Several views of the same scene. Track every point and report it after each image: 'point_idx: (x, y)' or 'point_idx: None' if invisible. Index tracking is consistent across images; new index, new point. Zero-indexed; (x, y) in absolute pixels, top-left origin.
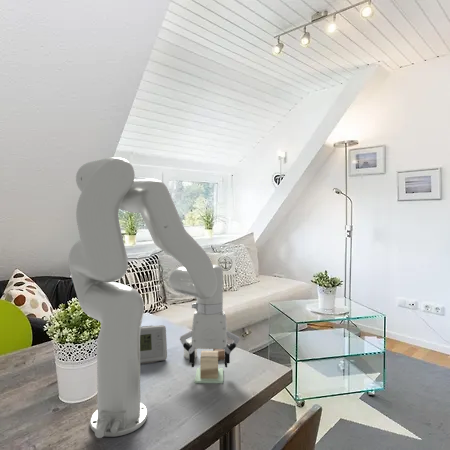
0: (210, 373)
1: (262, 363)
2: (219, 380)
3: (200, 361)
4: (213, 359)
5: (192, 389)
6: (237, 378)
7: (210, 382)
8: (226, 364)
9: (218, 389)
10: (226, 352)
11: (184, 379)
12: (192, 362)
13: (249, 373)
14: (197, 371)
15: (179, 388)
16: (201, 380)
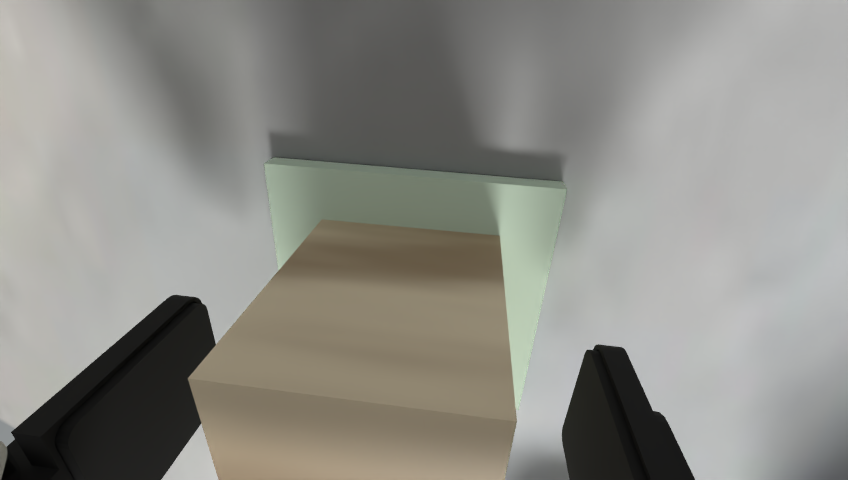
0: (384, 251)
1: None
2: (302, 181)
3: (511, 368)
4: (280, 366)
5: (606, 43)
6: (162, 232)
7: (396, 170)
8: (158, 314)
9: (307, 29)
10: (3, 470)
11: (660, 262)
12: (629, 393)
13: (88, 297)
14: (519, 358)
15: (765, 76)
16: (490, 195)
